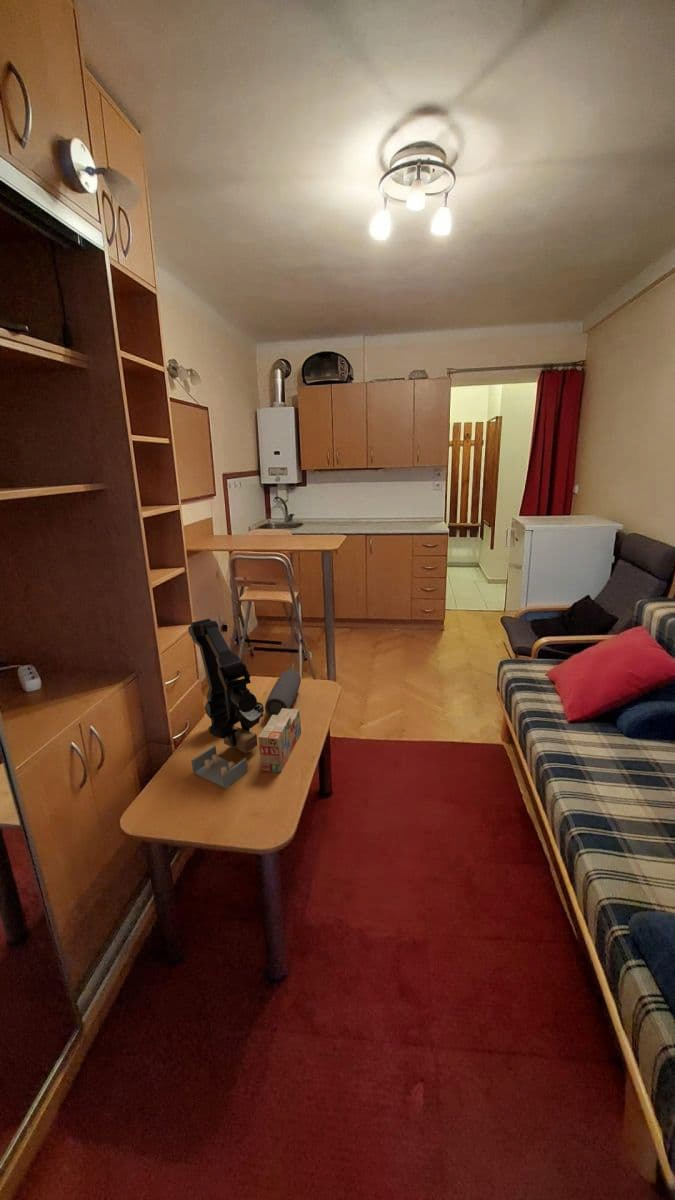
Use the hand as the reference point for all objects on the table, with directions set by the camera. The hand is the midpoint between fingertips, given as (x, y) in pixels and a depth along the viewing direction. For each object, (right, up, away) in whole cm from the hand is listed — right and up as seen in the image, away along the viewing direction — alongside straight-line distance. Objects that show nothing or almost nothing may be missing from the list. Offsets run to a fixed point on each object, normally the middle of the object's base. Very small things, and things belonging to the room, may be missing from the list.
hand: (240, 741), depth 149 cm
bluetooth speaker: (+11, +5, +28) cm, 30 cm away
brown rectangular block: (0, -1, 0) cm, 1 cm away
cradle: (-4, -7, -9) cm, 12 cm away
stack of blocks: (+14, -3, +1) cm, 14 cm away
